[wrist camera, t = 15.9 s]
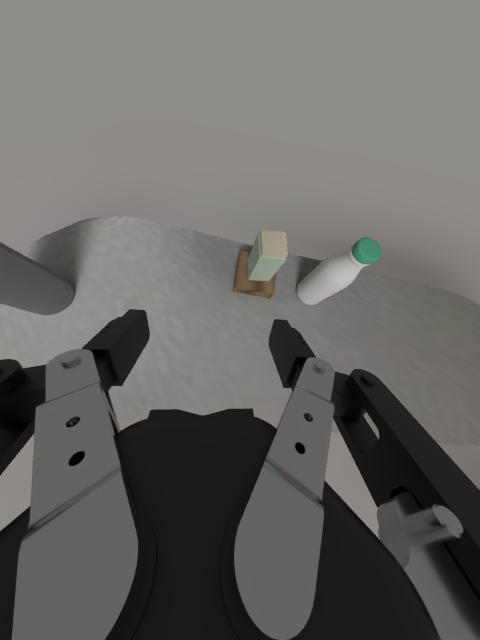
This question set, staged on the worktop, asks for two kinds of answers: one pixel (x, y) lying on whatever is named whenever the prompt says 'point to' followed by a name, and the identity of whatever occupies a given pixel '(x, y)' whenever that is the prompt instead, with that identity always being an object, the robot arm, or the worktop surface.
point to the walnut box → (251, 286)
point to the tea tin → (267, 255)
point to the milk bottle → (337, 272)
